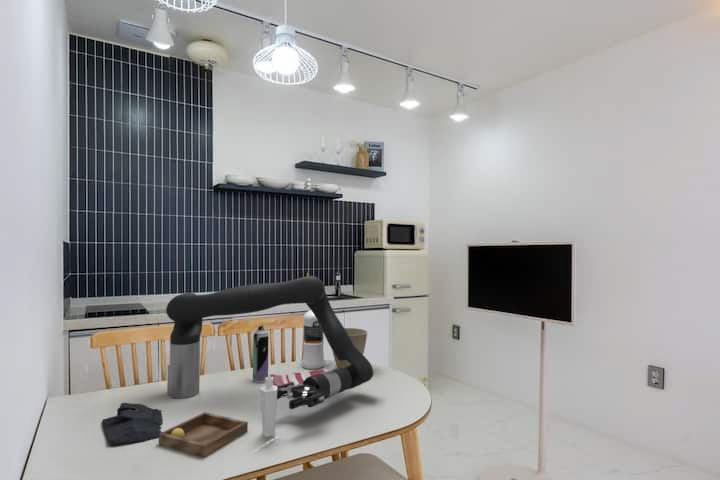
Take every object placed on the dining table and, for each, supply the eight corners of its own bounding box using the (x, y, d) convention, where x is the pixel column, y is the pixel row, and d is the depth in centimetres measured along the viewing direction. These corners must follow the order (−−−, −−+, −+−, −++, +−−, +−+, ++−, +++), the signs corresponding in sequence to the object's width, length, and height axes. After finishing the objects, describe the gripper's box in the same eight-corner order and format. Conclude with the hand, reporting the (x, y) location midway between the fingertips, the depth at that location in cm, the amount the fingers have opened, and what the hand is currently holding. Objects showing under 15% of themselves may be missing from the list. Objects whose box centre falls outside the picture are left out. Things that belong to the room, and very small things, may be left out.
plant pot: (368, 377, 159) (368, 335, 159) (329, 378, 158) (329, 335, 158) (365, 366, 174) (365, 327, 174) (329, 366, 173) (329, 327, 173)
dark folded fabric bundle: (97, 455, 100) (98, 435, 100) (102, 421, 119) (102, 404, 119) (168, 441, 107) (168, 422, 107) (162, 411, 126) (162, 395, 126)
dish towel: (268, 381, 155) (268, 373, 155) (329, 374, 164) (329, 367, 164) (276, 396, 140) (276, 388, 140) (343, 388, 148) (343, 380, 148)
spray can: (264, 383, 151) (264, 327, 151) (250, 382, 152) (250, 327, 152) (270, 378, 156) (271, 324, 156) (256, 377, 157) (257, 324, 157)
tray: (158, 446, 103) (158, 433, 103) (204, 423, 117) (204, 412, 117) (204, 460, 97) (204, 446, 97) (247, 433, 110) (247, 422, 110)
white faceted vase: (260, 432, 112) (261, 375, 112) (277, 431, 112) (278, 375, 112) (258, 440, 107) (258, 381, 107) (275, 439, 107) (276, 380, 108)
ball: (167, 442, 104) (167, 429, 104) (177, 437, 107) (178, 424, 107) (176, 445, 102) (177, 432, 103) (187, 440, 105) (187, 427, 105)
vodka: (322, 362, 178) (323, 291, 178) (326, 369, 169) (326, 294, 169) (300, 364, 176) (301, 292, 176) (303, 370, 167) (303, 294, 167)
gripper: (305, 368, 130) (263, 381, 117) (340, 378, 121) (297, 393, 108) (305, 393, 129) (262, 408, 117) (339, 404, 120) (297, 422, 108)
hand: (279, 401), depth 113 cm, fingers open, 8 cm apart
